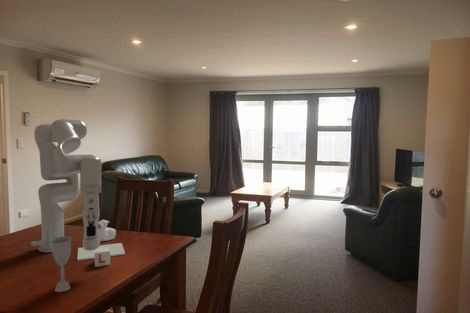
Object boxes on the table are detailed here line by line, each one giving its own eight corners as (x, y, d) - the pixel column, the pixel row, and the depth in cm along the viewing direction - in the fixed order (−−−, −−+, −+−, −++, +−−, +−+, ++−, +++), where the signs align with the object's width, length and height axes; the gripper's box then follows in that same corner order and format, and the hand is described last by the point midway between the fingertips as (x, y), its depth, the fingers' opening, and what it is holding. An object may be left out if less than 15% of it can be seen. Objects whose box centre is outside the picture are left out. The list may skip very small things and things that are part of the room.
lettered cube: (95, 267, 139) (94, 253, 139) (94, 261, 145) (94, 248, 145) (110, 265, 142) (110, 251, 141) (109, 259, 147) (109, 246, 147)
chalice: (57, 284, 123) (56, 236, 122) (76, 283, 123) (75, 236, 122) (48, 293, 116) (46, 242, 114) (68, 293, 116) (67, 242, 115)
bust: (115, 242, 178) (113, 222, 184) (117, 236, 173) (115, 216, 178) (91, 245, 173) (90, 225, 178) (92, 239, 167) (91, 219, 173)
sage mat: (77, 260, 146) (77, 259, 146) (78, 249, 160) (78, 247, 160) (125, 254, 154) (125, 253, 154) (121, 244, 168) (121, 242, 168)
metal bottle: (82, 253, 127) (82, 202, 125) (81, 247, 133) (81, 198, 131) (100, 251, 130) (100, 200, 128) (99, 245, 136) (99, 197, 134)
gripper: (102, 192, 123) (102, 239, 125) (100, 184, 139) (100, 226, 141) (79, 193, 120) (80, 241, 122) (80, 184, 136) (81, 228, 137)
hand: (91, 233), depth 131 cm, fingers closed on metal bottle, 5 cm apart
